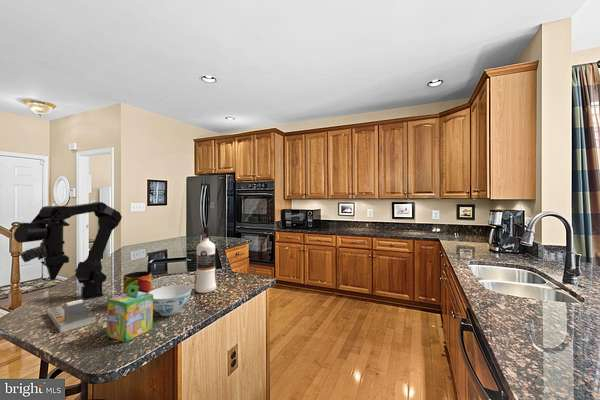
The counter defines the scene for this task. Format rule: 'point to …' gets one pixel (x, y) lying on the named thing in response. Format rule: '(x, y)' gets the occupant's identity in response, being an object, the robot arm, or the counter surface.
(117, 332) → the chalk box
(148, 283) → the mug
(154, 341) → the counter surface
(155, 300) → the chinaware
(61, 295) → the counter surface
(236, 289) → the counter surface
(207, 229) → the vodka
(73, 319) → the console
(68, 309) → the fader tab
